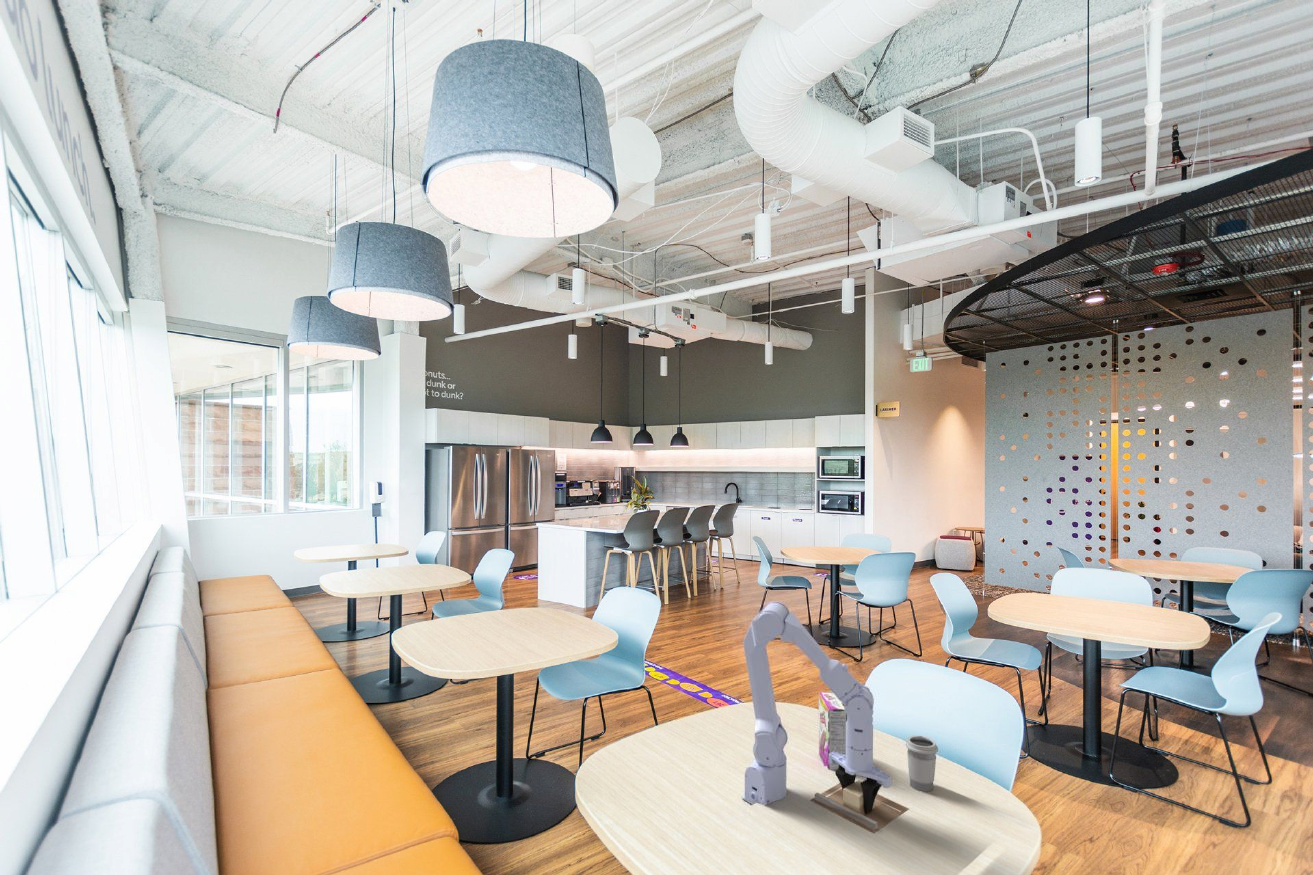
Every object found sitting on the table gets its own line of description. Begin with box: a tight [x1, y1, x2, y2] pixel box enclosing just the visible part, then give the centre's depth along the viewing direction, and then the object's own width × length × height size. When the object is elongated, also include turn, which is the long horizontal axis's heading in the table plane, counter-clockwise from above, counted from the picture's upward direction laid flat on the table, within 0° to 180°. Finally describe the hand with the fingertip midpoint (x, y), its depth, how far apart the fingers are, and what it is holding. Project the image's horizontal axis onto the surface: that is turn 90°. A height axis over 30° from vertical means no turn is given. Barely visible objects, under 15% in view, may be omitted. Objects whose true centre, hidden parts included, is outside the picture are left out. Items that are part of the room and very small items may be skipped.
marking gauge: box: [843, 779, 875, 815], centre depth 146 cm, size 10×4×4 cm, turn 130°
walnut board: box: [809, 782, 910, 834], centre depth 146 cm, size 14×16×3 cm
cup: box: [905, 735, 939, 793], centre depth 154 cm, size 7×7×12 cm
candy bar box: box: [818, 691, 847, 771], centre depth 167 cm, size 11×5×16 cm, turn 179°
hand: (858, 806), depth 144 cm, fingers closed on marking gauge, 4 cm apart
